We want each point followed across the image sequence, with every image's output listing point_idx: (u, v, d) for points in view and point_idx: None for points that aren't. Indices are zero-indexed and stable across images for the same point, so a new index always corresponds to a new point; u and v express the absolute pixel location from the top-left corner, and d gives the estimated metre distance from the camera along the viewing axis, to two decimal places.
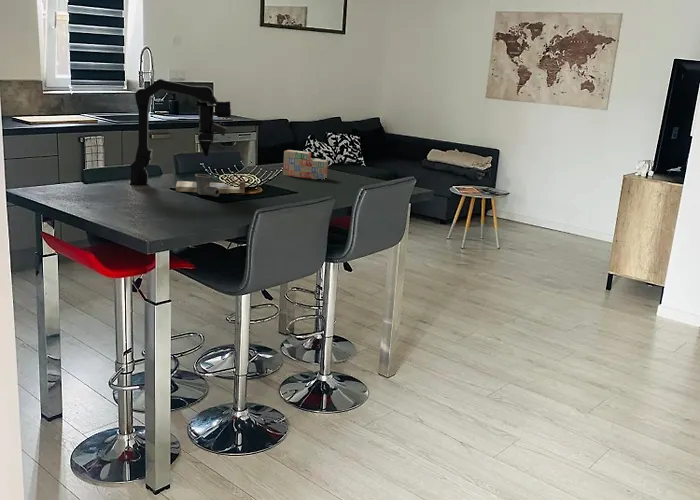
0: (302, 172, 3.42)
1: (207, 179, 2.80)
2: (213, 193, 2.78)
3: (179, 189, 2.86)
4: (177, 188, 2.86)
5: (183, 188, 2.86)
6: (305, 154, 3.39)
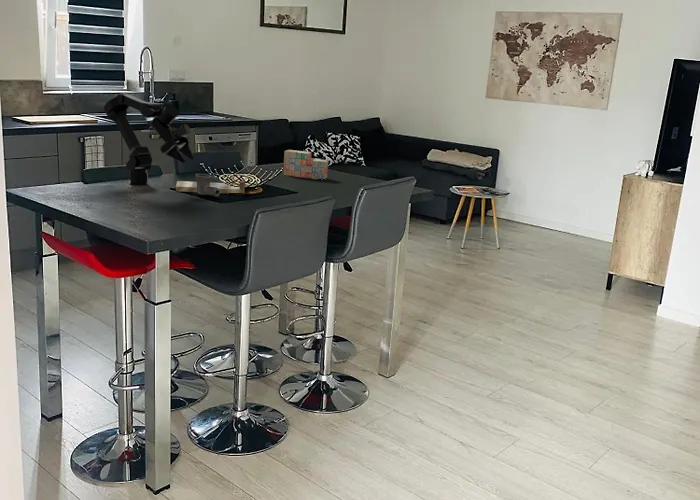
0: (302, 172, 3.42)
1: (207, 179, 2.80)
2: (213, 193, 2.78)
3: (179, 189, 2.86)
4: (177, 188, 2.86)
5: (183, 188, 2.86)
6: (305, 154, 3.39)
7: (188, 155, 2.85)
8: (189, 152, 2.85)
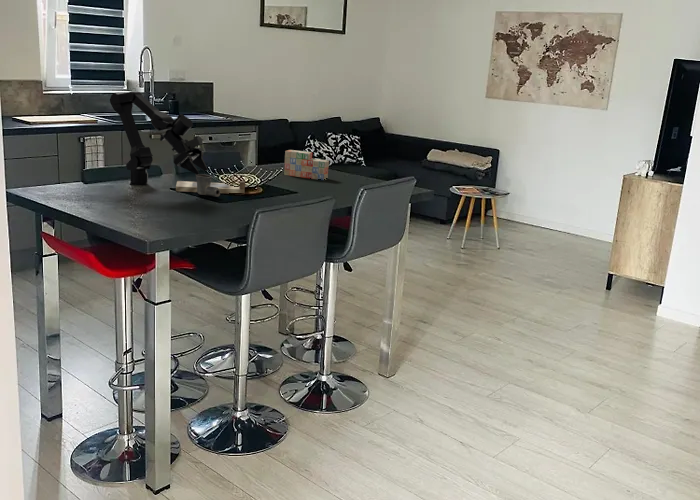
0: (303, 172, 3.42)
1: (207, 179, 2.80)
2: (214, 193, 2.78)
3: (179, 189, 2.86)
4: (177, 188, 2.86)
5: (183, 188, 2.86)
6: (306, 154, 3.39)
7: (201, 166, 2.85)
8: (202, 163, 2.85)
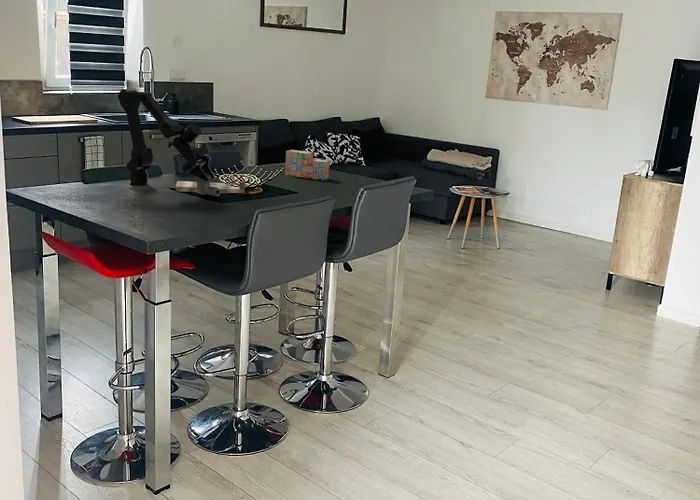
0: (304, 172, 3.42)
1: None
2: (214, 193, 2.78)
3: (179, 189, 2.86)
4: (177, 188, 2.86)
5: (183, 188, 2.86)
6: (306, 154, 3.40)
7: None
8: (209, 171, 2.84)
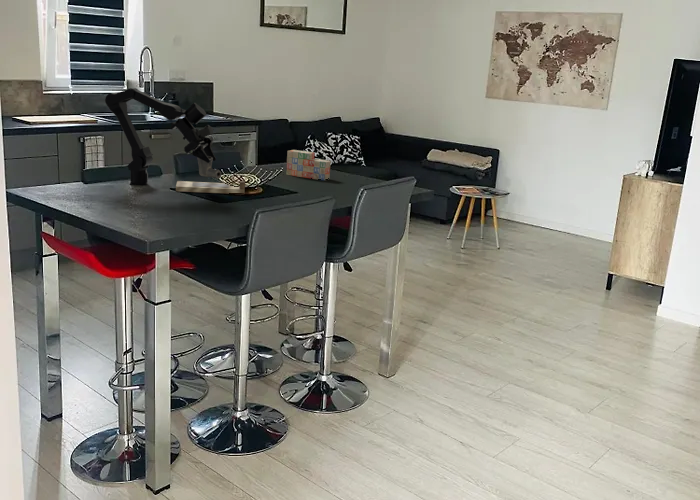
0: (304, 172, 3.42)
1: None
2: (215, 175, 2.82)
3: (179, 189, 2.86)
4: (177, 188, 2.86)
5: (183, 188, 2.86)
6: (307, 154, 3.40)
7: None
8: (211, 153, 2.88)
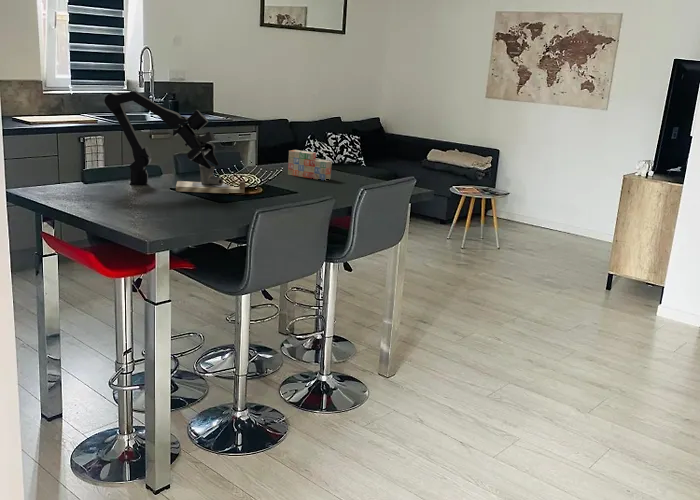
0: (306, 172, 3.43)
1: (210, 169, 2.91)
2: (217, 182, 2.89)
3: (179, 189, 2.86)
4: (177, 188, 2.86)
5: (183, 188, 2.86)
6: (308, 154, 3.40)
7: (213, 161, 2.96)
8: (214, 158, 2.95)
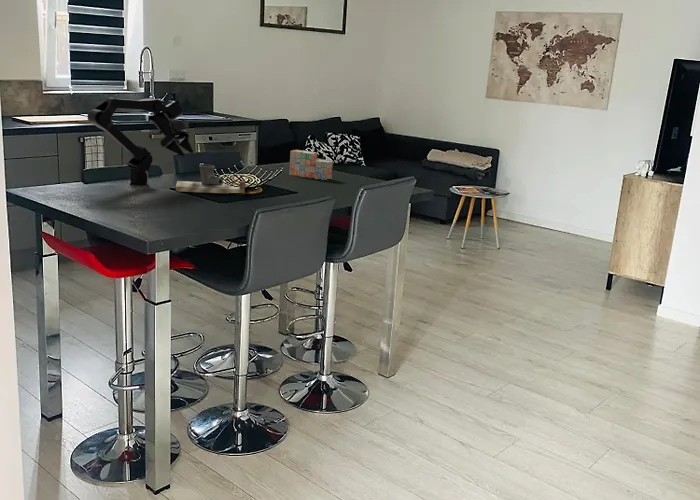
0: (306, 172, 3.43)
1: (210, 169, 2.91)
2: (217, 182, 2.89)
3: (179, 189, 2.86)
4: (177, 188, 2.86)
5: (183, 188, 2.86)
6: (309, 154, 3.40)
7: (188, 149, 3.00)
8: (189, 146, 2.99)
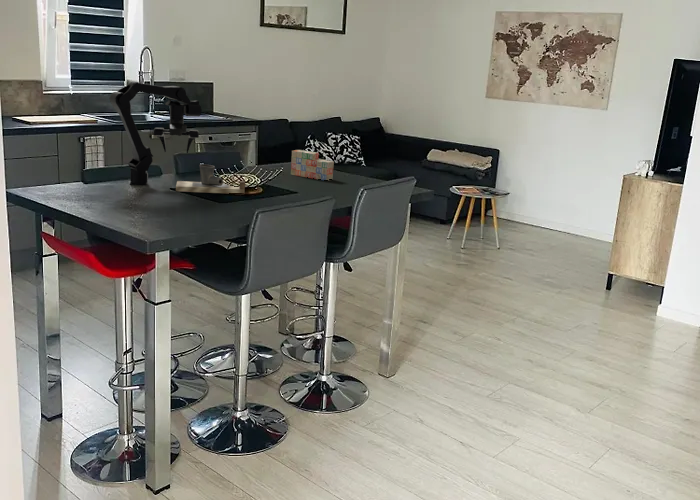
0: (308, 172, 3.43)
1: (210, 169, 2.91)
2: (217, 182, 2.89)
3: (179, 189, 2.86)
4: (177, 188, 2.86)
5: (183, 188, 2.86)
6: (310, 154, 3.40)
7: (187, 147, 3.02)
8: (187, 146, 3.01)
